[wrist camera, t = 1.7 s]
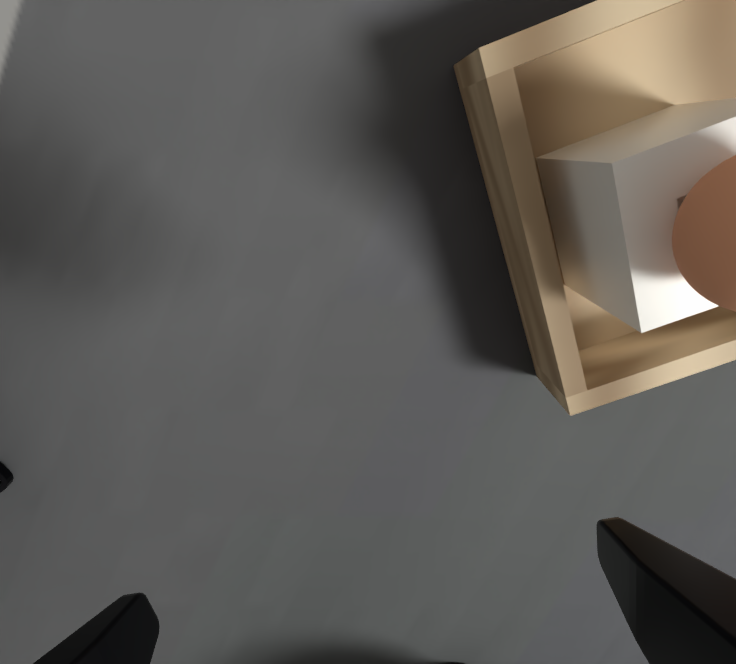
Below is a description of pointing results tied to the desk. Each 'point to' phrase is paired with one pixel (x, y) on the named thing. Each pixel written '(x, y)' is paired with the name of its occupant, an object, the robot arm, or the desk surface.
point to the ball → (709, 236)
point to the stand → (634, 208)
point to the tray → (570, 125)
